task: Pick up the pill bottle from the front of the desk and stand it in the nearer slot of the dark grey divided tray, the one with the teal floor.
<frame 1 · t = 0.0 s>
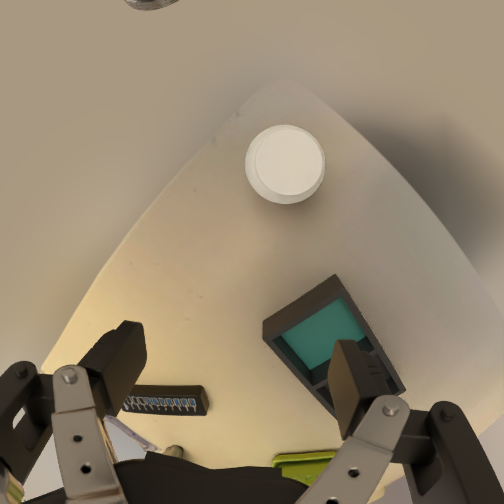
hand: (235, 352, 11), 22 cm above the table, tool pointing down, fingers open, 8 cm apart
multiport hub: (162, 394, 40), on the table
dark grey divided tray: (338, 352, 36), on the table
pill bottle: (280, 166, 30), on the table
flower pot: (304, 464, 44), on the table
cream tall rounded block: (177, 452, 44), on the table
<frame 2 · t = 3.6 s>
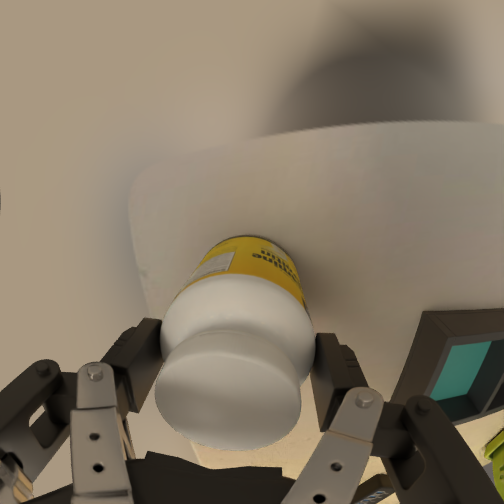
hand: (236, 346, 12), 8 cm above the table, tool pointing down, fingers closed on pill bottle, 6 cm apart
multiport hub: (349, 497, 28), on the table
dark grey divided tray: (482, 355, 20), on the table
pill bottle: (248, 279, 19), on the table, touching gripper
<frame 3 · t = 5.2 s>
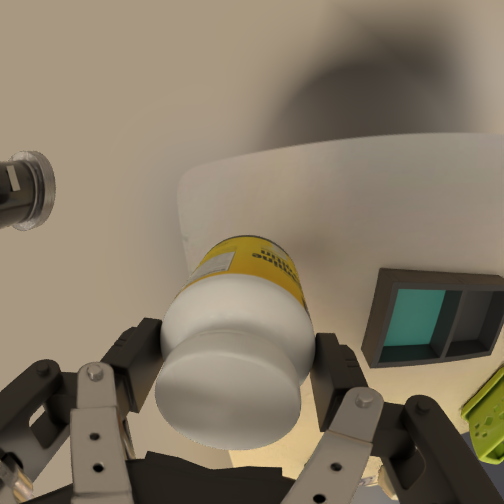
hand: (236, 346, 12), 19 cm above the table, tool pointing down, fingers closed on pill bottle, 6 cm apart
dark grey divided tray: (438, 311, 31), on the table
pill bottle: (248, 279, 19), point 11 cm above the table, touching gripper
flower pot: (488, 393, 35), on the table
cream tall rounded block: (388, 467, 40), on the table
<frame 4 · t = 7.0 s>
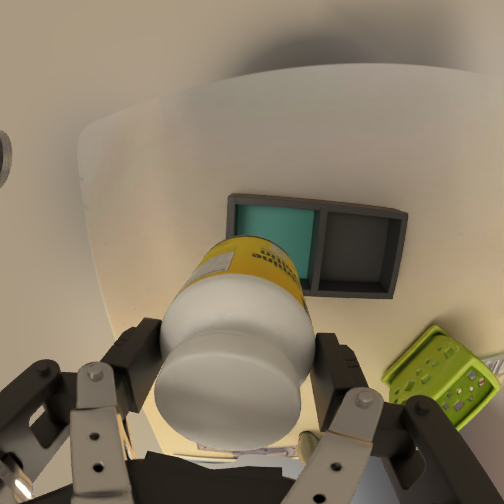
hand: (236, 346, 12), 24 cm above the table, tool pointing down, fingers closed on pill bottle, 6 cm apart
dark grey divided tray: (313, 242, 35), on the table
pill bottle: (248, 279, 19), point 16 cm above the table, touching gripper
flower pot: (422, 360, 39), on the table
cream tall rounded block: (310, 437, 45), on the table
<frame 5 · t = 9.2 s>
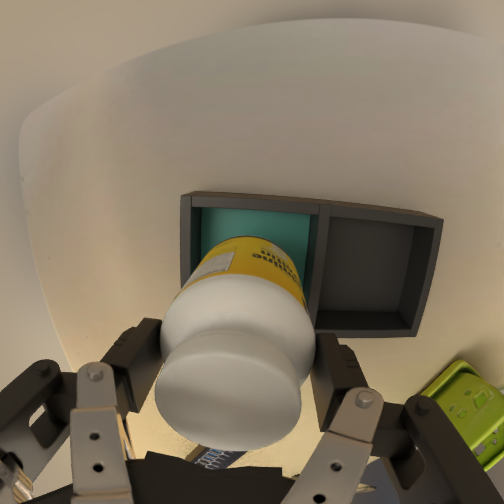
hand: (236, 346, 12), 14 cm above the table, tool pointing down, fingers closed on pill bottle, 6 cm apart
multiport hub: (220, 443, 32), on the table
dark grey divided tray: (309, 259, 25), on the table
pill bottle: (248, 279, 19), point 6 cm above the table, touching gripper
flower pot: (440, 397, 29), on the table
when the fingers open (9 cm above the table, at t = 11.0 s): pill bottle stays where it is, resting on dark grey divided tray.
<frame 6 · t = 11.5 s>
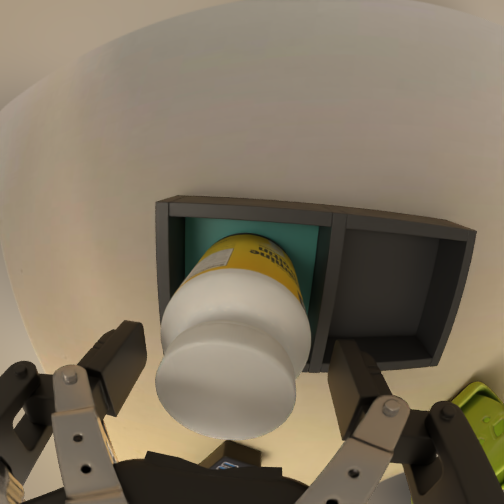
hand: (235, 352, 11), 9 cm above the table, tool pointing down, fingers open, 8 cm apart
multiport hub: (215, 469, 28), on the table
dark grey divided tray: (316, 278, 20), on the table
pill bottle: (246, 276, 20), point 1 cm above the table, touching dark grey divided tray
flower pot: (453, 418, 25), on the table
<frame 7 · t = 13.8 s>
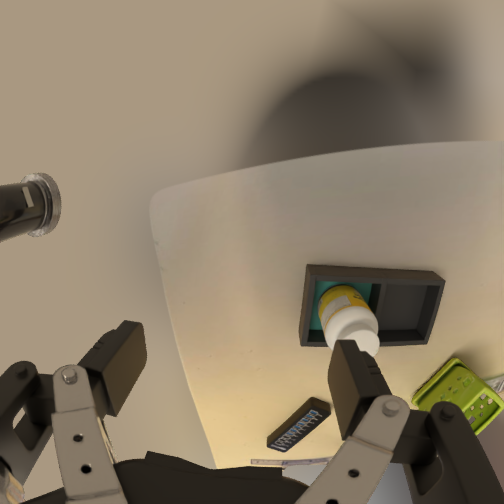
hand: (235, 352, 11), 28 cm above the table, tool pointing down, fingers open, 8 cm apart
multiport hub: (296, 422, 47), on the table
dark grey divided tray: (369, 302, 40), on the table
pill bottle: (338, 302, 40), point 1 cm above the table, touching dark grey divided tray
flower pot: (443, 383, 44), on the table
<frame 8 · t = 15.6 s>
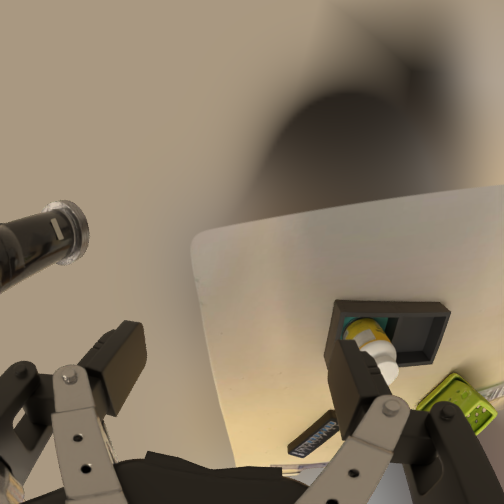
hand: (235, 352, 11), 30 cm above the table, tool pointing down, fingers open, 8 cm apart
multiport hub: (315, 431, 51), on the table
dark grey divided tray: (385, 329, 44), on the table
pill bottle: (359, 331, 44), point 1 cm above the table, touching dark grey divided tray
flower pot: (443, 394, 48), on the table
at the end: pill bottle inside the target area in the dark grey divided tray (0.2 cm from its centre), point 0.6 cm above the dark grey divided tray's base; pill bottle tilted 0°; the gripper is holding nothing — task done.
